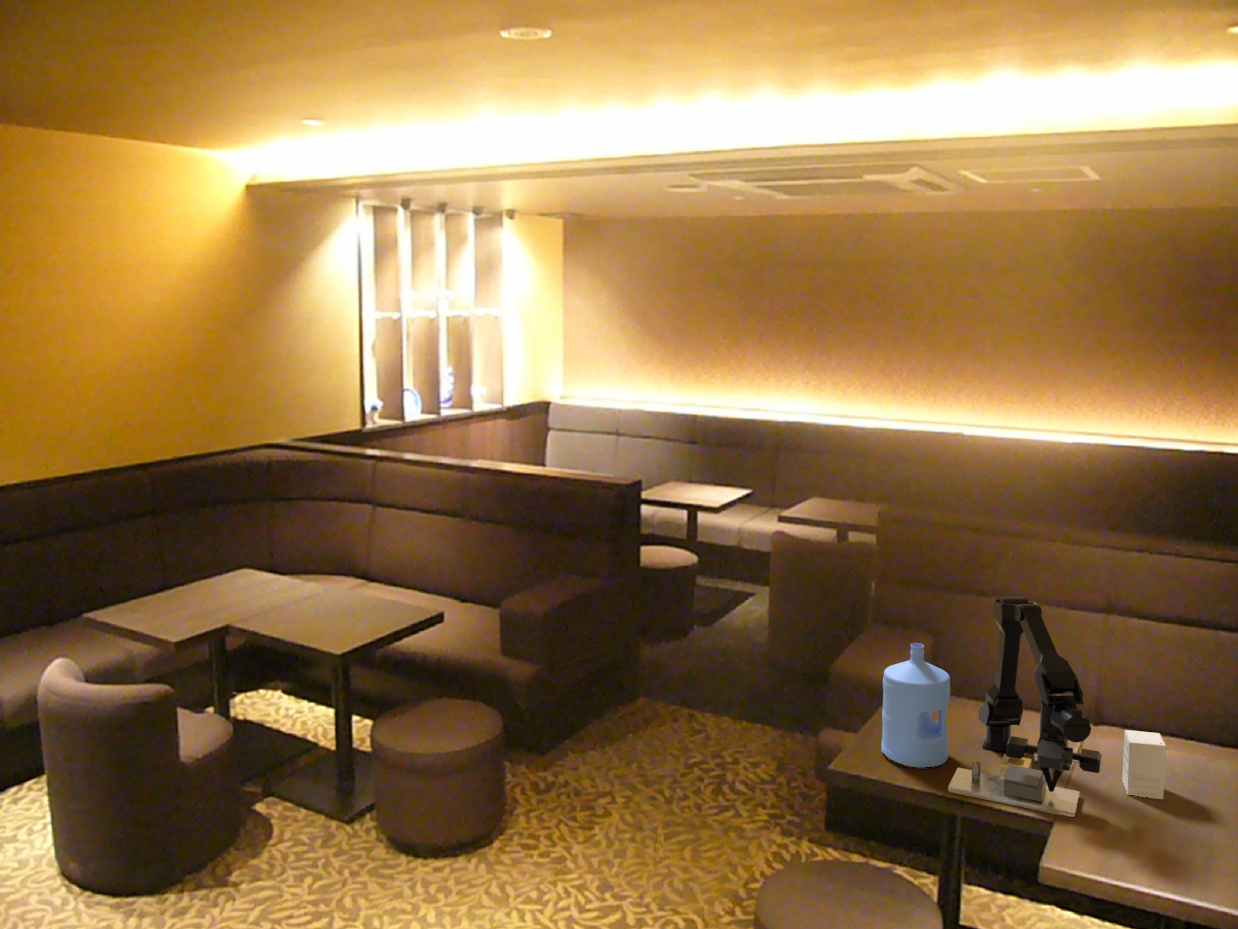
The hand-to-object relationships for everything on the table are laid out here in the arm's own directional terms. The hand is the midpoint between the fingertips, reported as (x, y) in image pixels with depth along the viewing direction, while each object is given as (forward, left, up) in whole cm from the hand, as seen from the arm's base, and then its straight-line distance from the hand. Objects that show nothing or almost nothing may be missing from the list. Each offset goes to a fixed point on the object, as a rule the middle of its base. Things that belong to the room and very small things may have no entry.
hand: (1051, 791), depth 216 cm
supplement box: (-15, +17, -3) cm, 23 cm away
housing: (0, -5, -1) cm, 5 cm away
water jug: (-10, -32, -3) cm, 33 cm away
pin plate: (0, -8, -3) cm, 8 cm away
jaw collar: (-11, -9, -3) cm, 14 cm away
